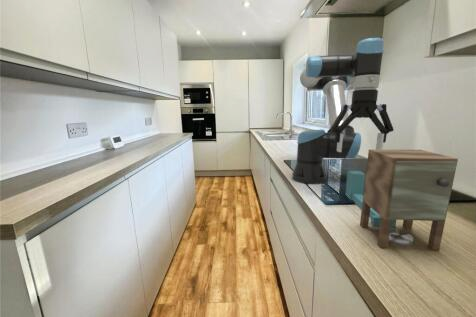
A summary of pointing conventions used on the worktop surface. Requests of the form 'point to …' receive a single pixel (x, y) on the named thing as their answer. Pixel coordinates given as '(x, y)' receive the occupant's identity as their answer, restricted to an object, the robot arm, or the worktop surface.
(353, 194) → the teal stepped block
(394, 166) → the cabinet
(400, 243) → the silver flat disc
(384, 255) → the worktop surface
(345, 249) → the worktop surface
